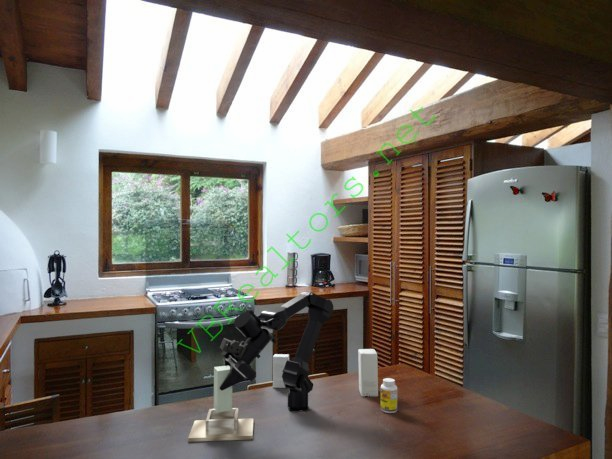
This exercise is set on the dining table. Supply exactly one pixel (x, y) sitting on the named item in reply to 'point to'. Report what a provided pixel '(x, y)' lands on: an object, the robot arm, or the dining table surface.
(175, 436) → the dining table surface
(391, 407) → the supplement bottle
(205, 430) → the holder
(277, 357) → the skincare box
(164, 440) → the dining table surface
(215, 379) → the peg
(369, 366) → the skincare box
